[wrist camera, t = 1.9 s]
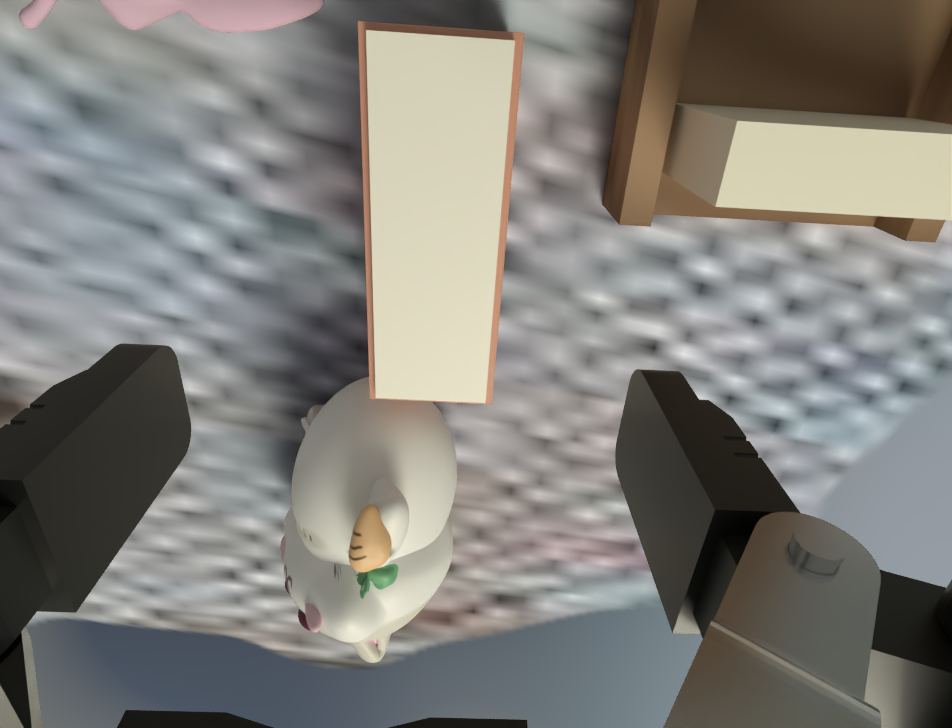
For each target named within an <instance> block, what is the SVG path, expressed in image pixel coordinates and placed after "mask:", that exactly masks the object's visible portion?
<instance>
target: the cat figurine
mask: <svg viewBox="0 0 952 728" xmlns="http://www.w3.org/2000/svg"><path fill="white" fill-rule="evenodd" d="M301 423H302V426H303V428H304V430H305V432H306V434H305V436H304V439H303V441H302V443H301V446H300V449H299V452H298V455H297V458H296V462H295V466H294V471H293V477H292V487H291V501H292V508H291V509H290V510H289V511H288V513H287V515H286V517H285V521H284V533H285V536H284V537H283V538H282V541H281V547H280V549H281V557H282V560H283V562H284V575H285V580H286V581H285V588H286V590H287V592H288V593H289V594H290V595H291V597H292V599H293V600H294V602H295V604H296V605H297V607H298V608H299V611H298V617H299V621H300V623H301V625H302V626H303V627H304V628H306V629H308V630H311V631H312V632H318V631H320V632H322V633H324V634H326V635H328V636H331V637H333V638H335V639H337V640H340V641H343V642H350V644H351V645H352V646H353V648H354V649H355V651H356V652H357V653H358V654H359V655H360V657H361V658H363V659H364V660H365V661H367V662H371V663H375V662H378V661H380V660H381V659H382V658H383V656H384V654H385V652H386V649H387V646H388V642H389V639H390V635H391V633H393V632H395V631H397V630H398V629H400V628H401V627H403V626H404V625H405V624H407V623H408V622H409V621H410V620H411V619H412V618H414V617H415V616H416V615H417V614H418V613H419V611H420V610H421V609H422V608H423V607H424V606H425V605H426V603H427V602H428V601H429V600H430V598H431V597H432V596H433V594H434V593H435V591H436V590H437V589H438V587H439V585H440V584H441V582H442V581H443V579H444V577H445V575H446V573H447V571H448V569H449V566H450V563H451V559H452V553H453V536H452V529H451V524H450V520H449V517H448V516H449V513H450V510H451V507H452V504H453V500H454V495H455V490H456V483H457V460H456V452H455V447H454V443H453V439H452V436H451V433H450V430H449V428H448V426H447V423H446V421H445V419H444V418H443V416H442V414H441V413H440V411H439V410H438V408H437V407H436V405H435V404H434V403H433V402H431V401H409V400H388V399H370V384H369V377H365V378H362V379H359V380H357V381H355V382H353V383H351V384H349V385H347V386H346V387H344V388H343V389H342V390H340V391H339V392H338V393H336V394H335V395H334V396H333V397H332V398H331V399H330V400H329V401H328V402H327V403H326V404H325V405H314V406H312V407H311V408H310V410H309V412H308V415H307V418H306V417H305V416H304V419H303V418H301Z"/></svg>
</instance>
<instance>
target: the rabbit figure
mask: <svg viewBox="0 0 952 728" xmlns="http://www.w3.org/2000/svg"><path fill="white" fill-rule="evenodd" d="M99 1H100V2H101V3H102V4H103V6H104V7H105V8H106V9H107V10H108V11H109V12H110V14H111V15H112V16H113V17H114V18H115V19H116V20H117V21H118V22H119V23H120V24H122V25H123V26H125V27H126V28H129V29H131V30H139V29H142V28H144V27H146V26H148V25H150V24H152V23H154V22H157V21H159V20H162V19H164V18H166V17H168V16H170V15H172V14H174V13H177V12H184V13H185V14H187V15H188V16H189V17H190V18H191V19H192V20H194V21H195V22H196V23H197V24H199V25H200V26H202V27H204V28H206V29H209V30H213V31H218V32H227V33H231V32H255V31H263V30H268V29H272V28H276V27H280V26H283V25H286V24H289V23H292V22H295V21H298V20H301V19H303V18H306V17H308V16H310V15H312V14H314V13H315V12H317V11H318V10H319V9H320V8H321V7H322V5H323V0H99ZM55 2H56V0H33V1H32V2H31V3H30V4H29V5H27V6H26V7H25V8H23V9H22V10H21V12H20V14H19V20H20V22H21V23H22V25H23V26H24V27H26V28H28V29H34V28H36V27H37V26H38V25H39V24H40V23H41V22H42V21H43V19H44V18H45V17H46V16H47V14H48V13H49V12H50V10H51V9H52V7H53V6H54V4H55Z"/></svg>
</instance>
